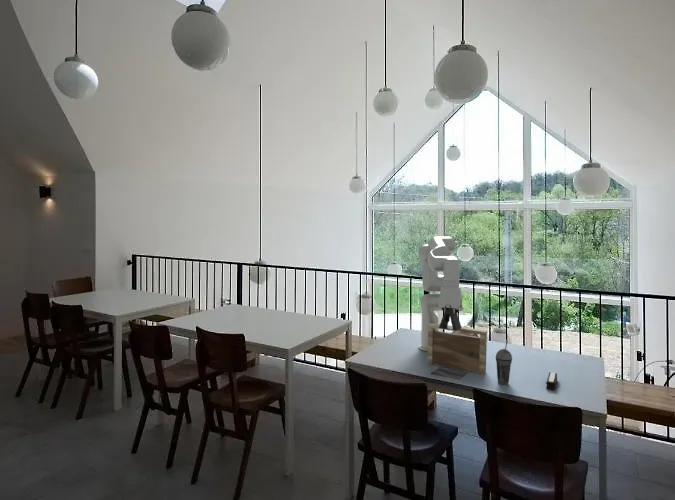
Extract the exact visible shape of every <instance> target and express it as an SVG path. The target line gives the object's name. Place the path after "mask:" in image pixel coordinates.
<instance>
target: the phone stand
mask: <svg viewBox="0 0 675 500" xmlns="http://www.w3.org/2000/svg"><path fill="white" fill-rule="evenodd" d="M449 306H450V305H449ZM447 314H450V323H451V325H449V322H446V316H447ZM439 324H440V326H439V328H440V329H439V330H444V329H448V330H447V331H451V330H454V331H457V330H459V329H461V328H462V327H463V326H462V325H461V321H460V318H459V316H458V312H457V313H456V315H455V316H454V314H453V311H452V308H451V306H450V308H446V306H445V312H444V311H443V315H442V318H441V320H440V322H439ZM448 325H449V326H448Z"/></svg>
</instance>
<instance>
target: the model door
mask: <svg viewBox="0 0 675 500" xmlns="http://www.w3.org/2000/svg"><path fill="white" fill-rule="evenodd" d="M439 326H440V323H438V324H434V323H430V324H428V351H427V364H429V365H436V366H439V367H437V368H436V369H434V370H433V371H431V372H430V374H431V375H436V376H441V377H444V378H445V377H446V378H449V379H455V380H461V379H462V378H463V377H464V376H466V374H467V373H468V372H472V373H473V372H474V373H477V374H481V375H485V374H486V373H487V346H488V345H487V344H488V330H485V329H480V328H479V329H477V328H471V327H468V328H464V327H465V326H461V327H462V328H461V329H459V330H457V331H458V332H465V333H473V334H477V335H479V337H474V336H468V335H461V334H454V333H452V332H453V331H454V330H450V331H452V332H446V331H449V330H448V329H443V330H444V331H439V330H441V329H440V328H439ZM448 326H450V325H449V324H448ZM435 328H437V329H438V331H435ZM451 368H452V369H451ZM467 371H468V372H467Z"/></svg>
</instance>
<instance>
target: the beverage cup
mask: <svg viewBox="0 0 675 500" xmlns="http://www.w3.org/2000/svg"><path fill="white" fill-rule="evenodd" d="M507 346H508V339H506V342H505V346H504V347H505V348H503V349H501V348H500V349H499V350H498V351H497V352H496V355H495V363H496V373H497V374H496V377H497V383H498V384H499V385H502V386H508V385H509V381H510V374H511V367H512V366H511V365H512V362H513V356H512V354H511V352H510V351H509V350H508V349H507Z"/></svg>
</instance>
